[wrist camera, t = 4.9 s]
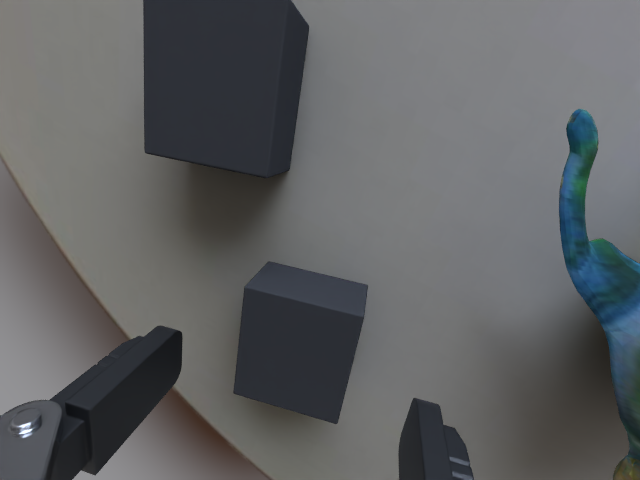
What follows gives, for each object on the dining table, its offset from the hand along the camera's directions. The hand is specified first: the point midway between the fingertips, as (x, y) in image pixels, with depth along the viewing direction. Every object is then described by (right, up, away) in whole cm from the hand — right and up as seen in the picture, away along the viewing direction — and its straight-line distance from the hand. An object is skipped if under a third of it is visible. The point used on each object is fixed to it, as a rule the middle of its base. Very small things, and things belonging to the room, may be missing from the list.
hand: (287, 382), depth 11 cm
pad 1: (-2, +10, +1) cm, 11 cm away
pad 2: (+1, +1, +4) cm, 4 cm away
